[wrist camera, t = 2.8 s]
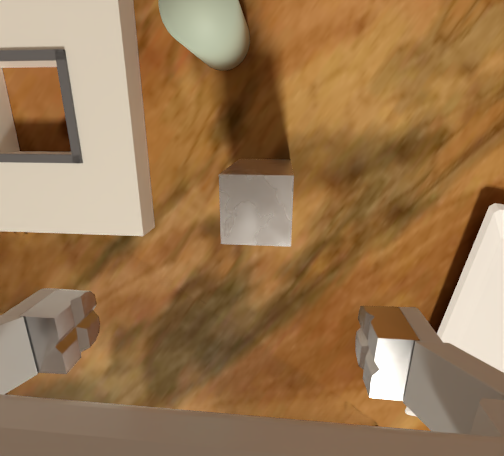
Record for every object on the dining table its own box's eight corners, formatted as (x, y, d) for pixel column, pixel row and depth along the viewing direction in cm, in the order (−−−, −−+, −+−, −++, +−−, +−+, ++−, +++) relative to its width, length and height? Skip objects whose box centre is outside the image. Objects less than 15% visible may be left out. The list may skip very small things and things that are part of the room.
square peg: (288, 208, 33) (290, 246, 22) (240, 207, 33) (221, 243, 23) (290, 159, 31) (293, 175, 21) (240, 158, 32) (219, 174, 21)
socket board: (154, 227, 35) (142, 236, 32) (-13, 221, 37) (-41, 230, 33) (129, -37, 27) (109, -58, 24) (-79, -28, 29) (-123, -46, 26)
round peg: (250, 70, 29) (236, 46, 21) (196, 70, 30) (162, 48, 21) (250, 7, 28) (235, -47, 19) (193, 8, 28) (155, -43, 20)
